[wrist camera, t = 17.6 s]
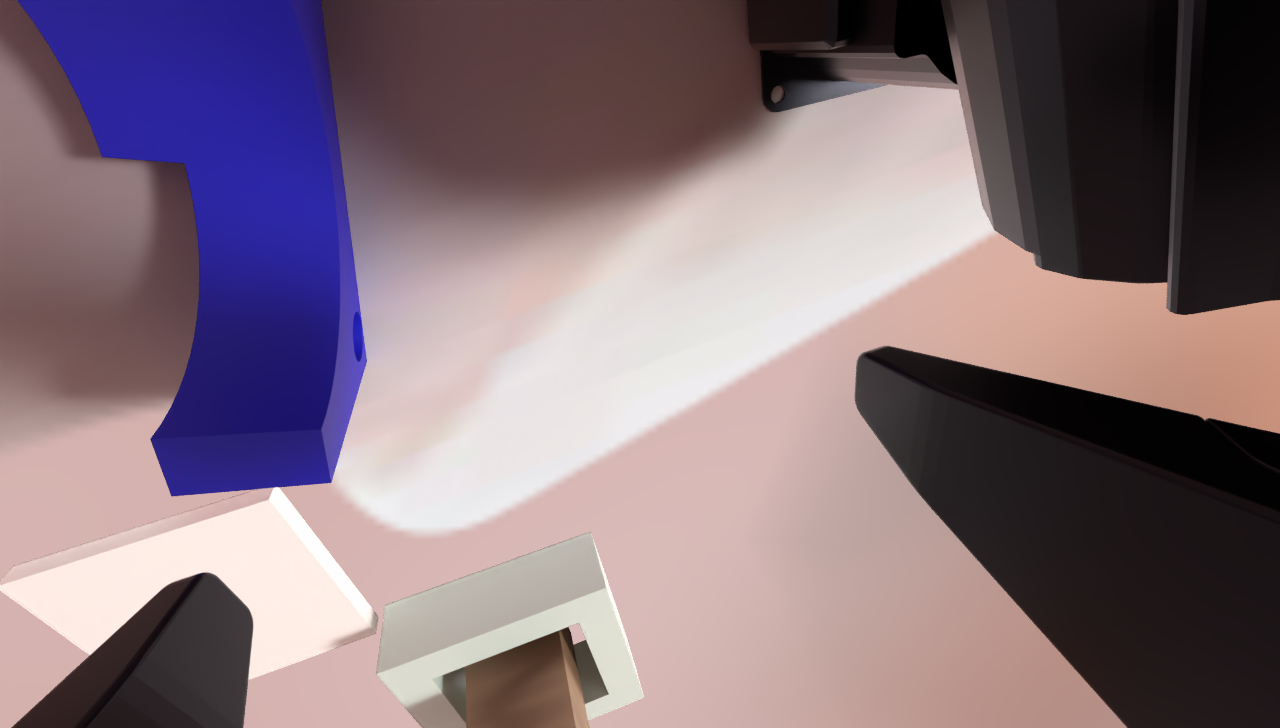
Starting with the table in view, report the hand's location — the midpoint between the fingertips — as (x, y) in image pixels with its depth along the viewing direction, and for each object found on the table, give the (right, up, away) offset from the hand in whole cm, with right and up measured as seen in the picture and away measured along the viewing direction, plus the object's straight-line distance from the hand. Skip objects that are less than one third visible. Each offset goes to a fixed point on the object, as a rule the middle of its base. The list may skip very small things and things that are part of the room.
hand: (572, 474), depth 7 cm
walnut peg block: (-5, -11, +18) cm, 22 cm away
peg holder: (-5, -11, +18) cm, 22 cm away
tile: (-15, -7, +12) cm, 20 cm away
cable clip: (-9, +7, +7) cm, 13 cm away
